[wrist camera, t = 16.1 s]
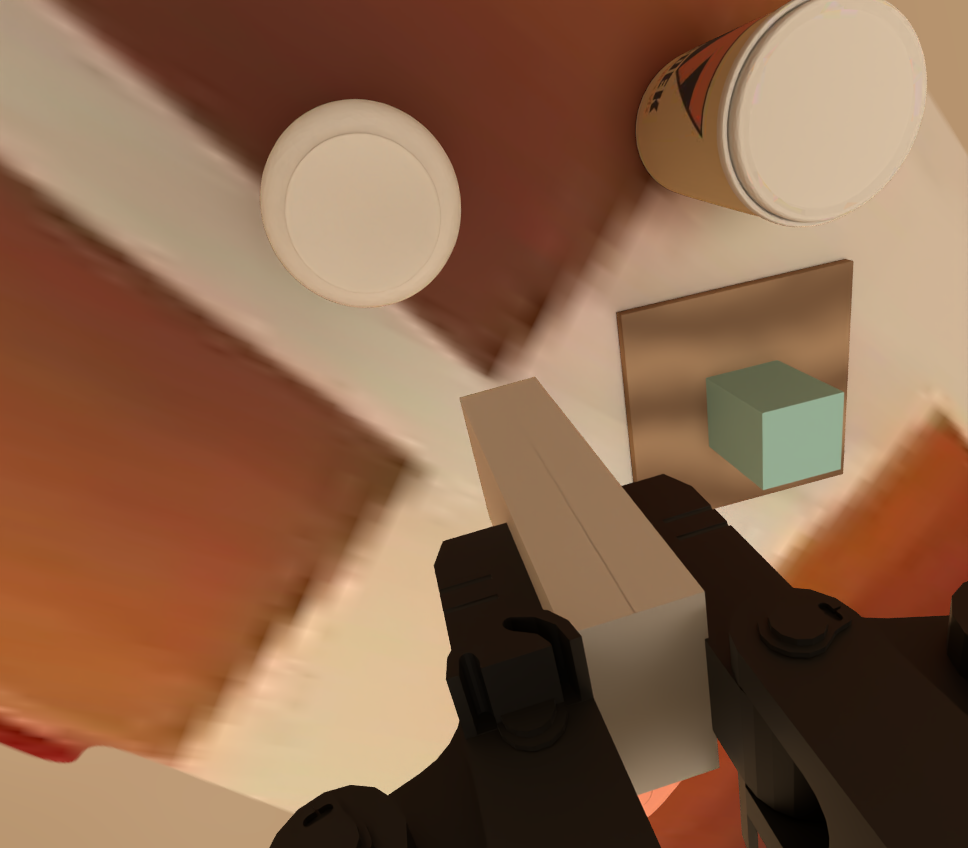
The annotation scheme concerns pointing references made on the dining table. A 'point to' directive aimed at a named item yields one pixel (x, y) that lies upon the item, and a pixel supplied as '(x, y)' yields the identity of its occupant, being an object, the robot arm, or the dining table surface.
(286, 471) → the dining table surface
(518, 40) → the dining table surface
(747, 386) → the teal green block
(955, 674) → the robot arm
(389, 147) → the pill bottle
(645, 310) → the post stand
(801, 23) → the coffee cup
